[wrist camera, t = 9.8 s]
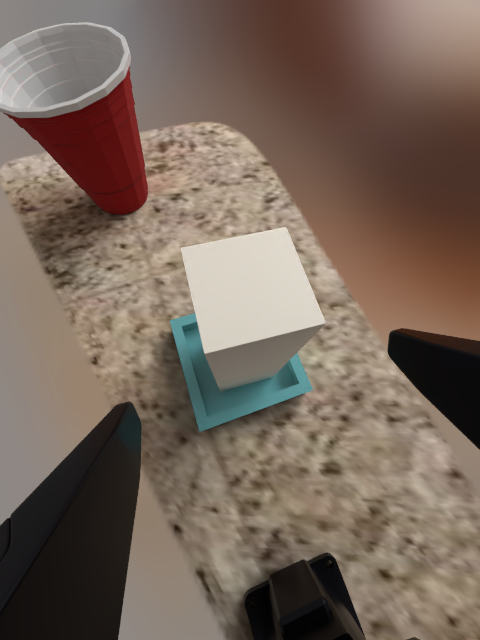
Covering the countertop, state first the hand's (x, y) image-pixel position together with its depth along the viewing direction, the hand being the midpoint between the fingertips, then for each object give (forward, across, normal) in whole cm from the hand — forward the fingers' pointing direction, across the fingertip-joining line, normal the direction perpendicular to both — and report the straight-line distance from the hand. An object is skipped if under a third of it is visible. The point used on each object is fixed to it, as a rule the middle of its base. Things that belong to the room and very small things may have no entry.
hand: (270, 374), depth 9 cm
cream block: (+12, 0, +7) cm, 13 cm away
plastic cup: (+28, +8, -8) cm, 30 cm away
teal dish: (+12, 0, +7) cm, 14 cm away
